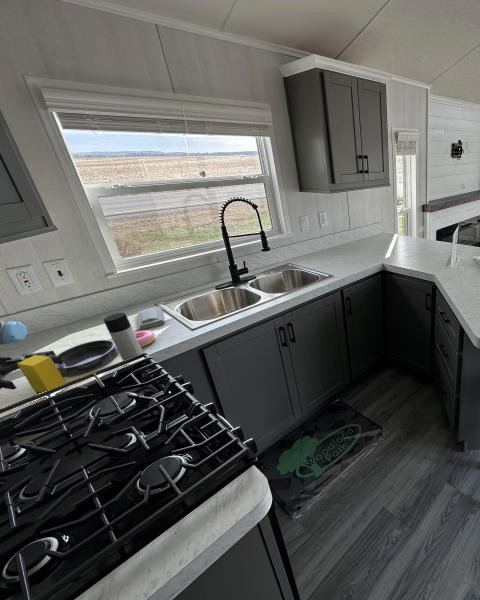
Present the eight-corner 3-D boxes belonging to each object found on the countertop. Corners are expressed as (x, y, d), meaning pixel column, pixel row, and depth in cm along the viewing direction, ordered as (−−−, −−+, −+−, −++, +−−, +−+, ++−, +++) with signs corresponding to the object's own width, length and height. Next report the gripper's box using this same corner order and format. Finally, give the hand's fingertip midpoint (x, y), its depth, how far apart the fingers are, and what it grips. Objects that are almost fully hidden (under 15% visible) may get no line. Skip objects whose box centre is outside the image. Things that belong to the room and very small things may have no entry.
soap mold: (162, 308, 170) (160, 302, 169) (165, 323, 156) (162, 316, 154) (138, 314, 165) (135, 308, 164) (138, 330, 150) (135, 323, 149)
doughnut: (118, 350, 136) (114, 342, 134) (138, 336, 146) (135, 328, 144) (143, 350, 135) (140, 341, 133) (162, 336, 145) (159, 328, 143)
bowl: (48, 383, 117) (42, 374, 116) (62, 357, 132) (57, 349, 130) (115, 365, 126) (111, 356, 125) (121, 342, 141) (117, 334, 139)
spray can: (149, 356, 131) (130, 312, 122) (134, 367, 125) (113, 321, 116) (135, 355, 132) (115, 311, 123) (120, 365, 126) (97, 320, 117)
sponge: (37, 394, 112) (16, 363, 107) (53, 385, 116) (35, 354, 111) (52, 397, 111) (32, 365, 105) (68, 387, 115) (50, 356, 109)
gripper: (40, 354, 128) (82, 359, 123) (-51, 398, 106) (-4, 407, 101) (30, 338, 124) (72, 343, 120) (-66, 380, 102) (-18, 388, 98)
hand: (38, 372), depth 111 cm, fingers open, 13 cm apart
